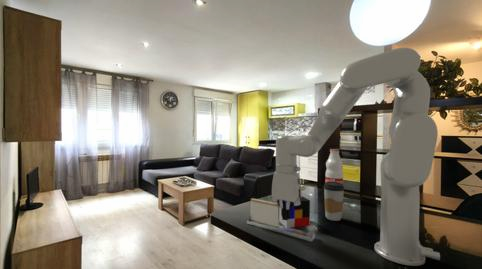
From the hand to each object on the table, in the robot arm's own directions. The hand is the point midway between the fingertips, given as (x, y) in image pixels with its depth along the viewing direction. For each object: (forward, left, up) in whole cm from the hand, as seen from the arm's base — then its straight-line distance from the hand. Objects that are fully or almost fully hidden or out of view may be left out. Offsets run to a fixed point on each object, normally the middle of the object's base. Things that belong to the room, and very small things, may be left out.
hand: (285, 219), depth 83 cm
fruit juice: (-4, -59, -5) cm, 60 cm away
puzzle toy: (+2, -11, -5) cm, 12 cm away
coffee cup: (-11, -25, -5) cm, 28 cm away
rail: (+3, 0, -5) cm, 6 cm away
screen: (+9, 0, -3) cm, 9 cm away
